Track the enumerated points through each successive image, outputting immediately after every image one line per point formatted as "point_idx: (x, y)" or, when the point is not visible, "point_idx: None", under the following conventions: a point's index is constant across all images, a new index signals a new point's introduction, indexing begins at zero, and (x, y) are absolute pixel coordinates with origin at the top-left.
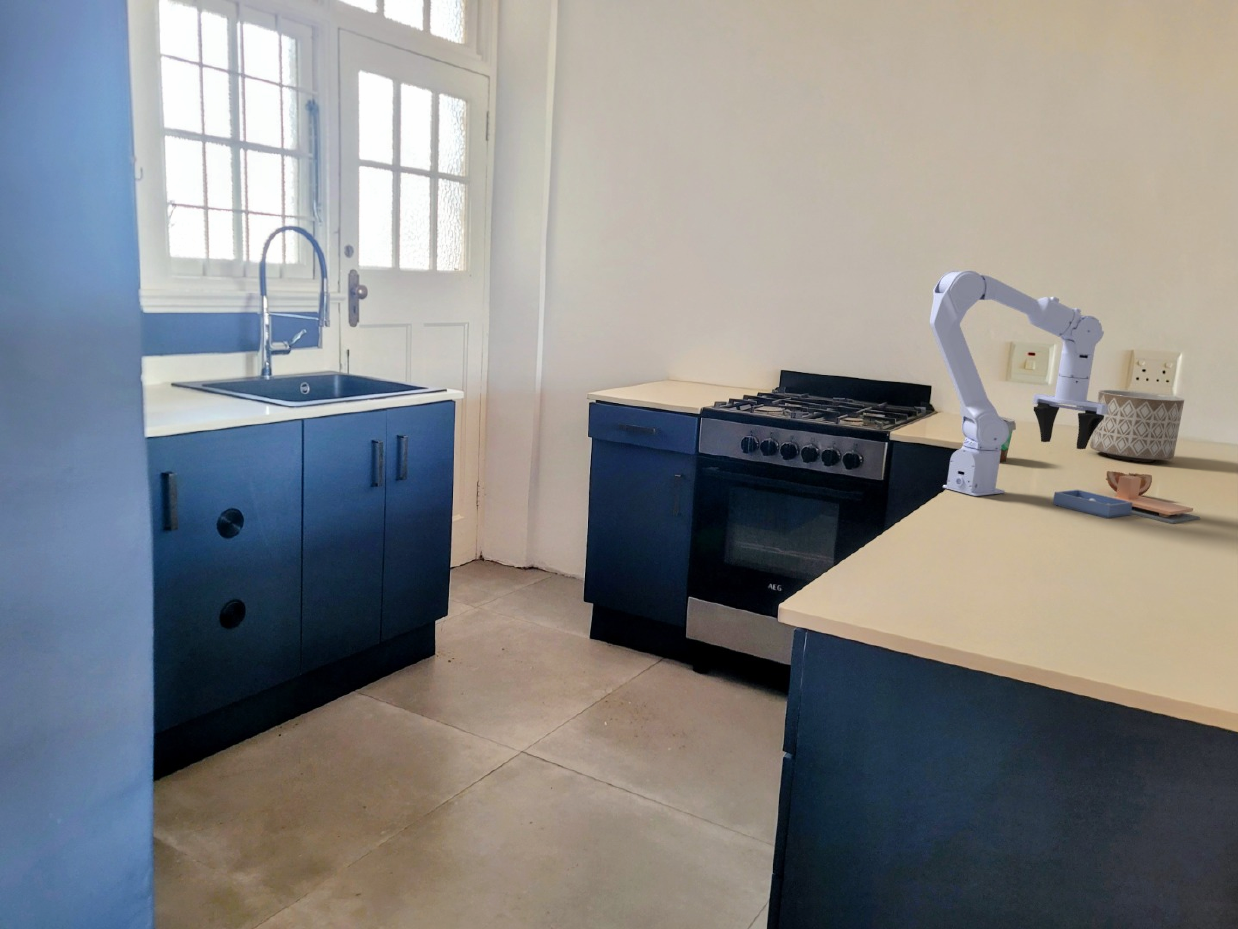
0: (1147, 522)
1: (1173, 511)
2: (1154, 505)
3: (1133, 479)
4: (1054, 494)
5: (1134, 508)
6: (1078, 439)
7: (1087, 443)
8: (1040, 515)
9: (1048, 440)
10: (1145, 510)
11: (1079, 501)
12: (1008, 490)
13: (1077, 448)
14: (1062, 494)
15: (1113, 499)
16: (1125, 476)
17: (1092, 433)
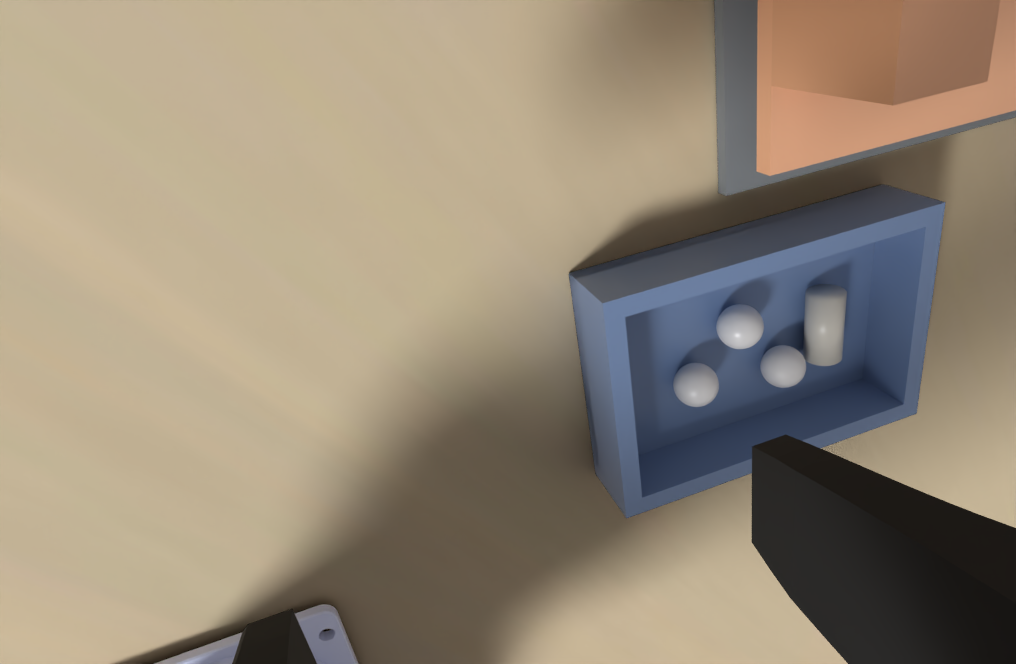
0: (983, 224)
1: None
2: (1005, 27)
3: (987, 44)
4: (622, 509)
5: None
6: (846, 641)
7: (847, 466)
8: (721, 638)
9: (304, 650)
10: None
11: None
12: (231, 527)
13: (761, 540)
14: (671, 499)
15: (843, 247)
16: (918, 30)
17: (1013, 532)
